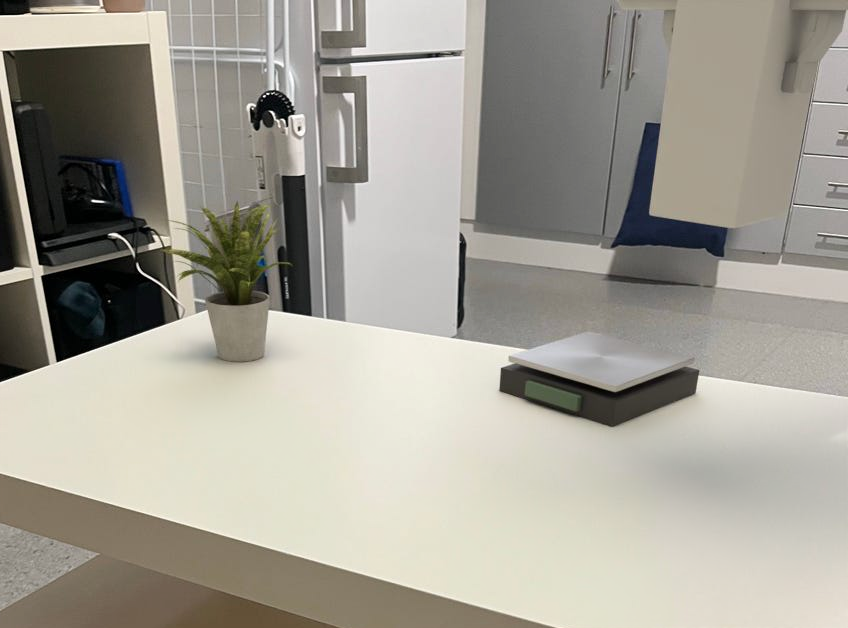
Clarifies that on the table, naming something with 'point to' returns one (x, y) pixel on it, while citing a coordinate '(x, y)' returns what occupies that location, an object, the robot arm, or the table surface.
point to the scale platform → (601, 360)
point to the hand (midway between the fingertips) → (737, 89)
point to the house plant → (235, 284)
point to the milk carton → (730, 113)
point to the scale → (598, 393)
